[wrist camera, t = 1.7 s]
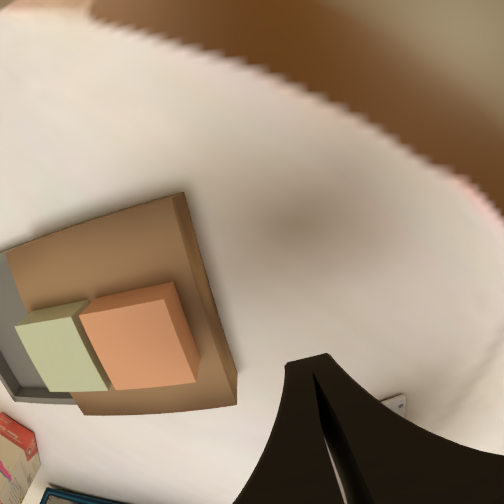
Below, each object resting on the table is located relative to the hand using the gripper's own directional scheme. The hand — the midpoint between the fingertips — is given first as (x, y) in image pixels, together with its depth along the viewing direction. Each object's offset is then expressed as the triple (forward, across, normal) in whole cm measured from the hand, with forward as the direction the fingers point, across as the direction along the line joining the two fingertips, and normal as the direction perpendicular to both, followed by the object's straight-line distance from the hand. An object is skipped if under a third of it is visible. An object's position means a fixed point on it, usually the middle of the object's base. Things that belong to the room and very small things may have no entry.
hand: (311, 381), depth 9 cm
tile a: (+6, +7, 0) cm, 9 cm away
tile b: (+6, +12, 0) cm, 14 cm away
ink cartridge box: (+9, +32, +14) cm, 36 cm away
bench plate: (+9, +10, 0) cm, 13 cm away
